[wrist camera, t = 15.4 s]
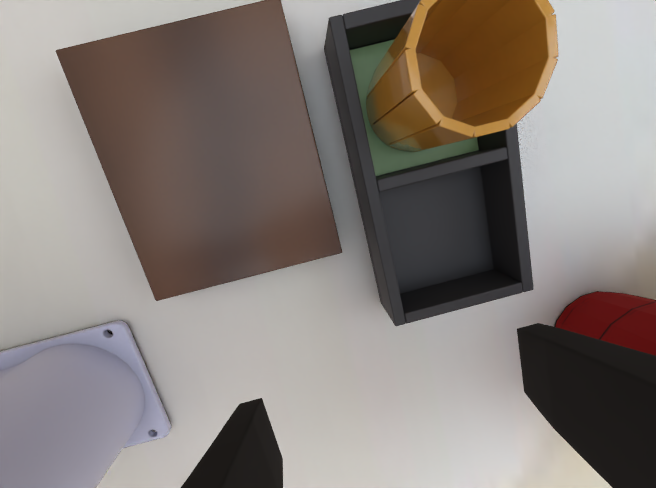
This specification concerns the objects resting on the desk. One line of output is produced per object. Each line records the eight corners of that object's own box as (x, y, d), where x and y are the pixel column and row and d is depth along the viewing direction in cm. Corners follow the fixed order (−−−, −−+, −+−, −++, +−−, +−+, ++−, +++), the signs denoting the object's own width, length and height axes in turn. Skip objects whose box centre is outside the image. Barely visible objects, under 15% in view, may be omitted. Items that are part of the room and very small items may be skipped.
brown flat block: (171, 288, 18) (155, 301, 16) (86, 66, 15) (54, 49, 13) (338, 244, 18) (342, 252, 16) (282, 19, 15) (279, -4, 13)
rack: (381, 303, 19) (395, 326, 16) (323, 47, 16) (328, 17, 13) (497, 272, 19) (534, 289, 16) (464, 13, 16) (502, -25, 13)
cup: (375, 161, 16) (421, 151, 10) (356, 63, 15) (393, -19, 9) (463, 140, 17) (563, 115, 10) (450, 40, 15) (552, -55, 9)
